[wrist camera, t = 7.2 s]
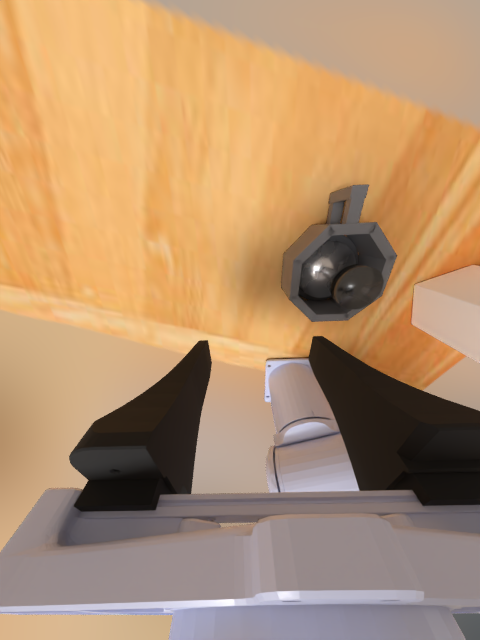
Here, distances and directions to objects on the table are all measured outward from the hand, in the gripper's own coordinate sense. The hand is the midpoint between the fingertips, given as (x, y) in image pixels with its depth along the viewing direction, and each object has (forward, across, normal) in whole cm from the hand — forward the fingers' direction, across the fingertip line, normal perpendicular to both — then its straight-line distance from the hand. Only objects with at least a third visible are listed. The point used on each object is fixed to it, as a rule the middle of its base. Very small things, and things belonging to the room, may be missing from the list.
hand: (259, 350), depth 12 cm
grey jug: (+10, -8, -4) cm, 14 cm away
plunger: (+10, -8, -3) cm, 13 cm away
